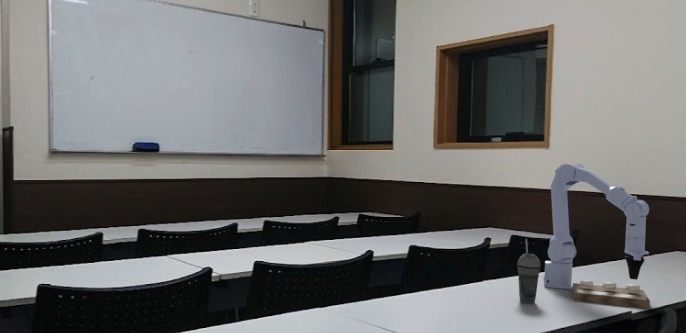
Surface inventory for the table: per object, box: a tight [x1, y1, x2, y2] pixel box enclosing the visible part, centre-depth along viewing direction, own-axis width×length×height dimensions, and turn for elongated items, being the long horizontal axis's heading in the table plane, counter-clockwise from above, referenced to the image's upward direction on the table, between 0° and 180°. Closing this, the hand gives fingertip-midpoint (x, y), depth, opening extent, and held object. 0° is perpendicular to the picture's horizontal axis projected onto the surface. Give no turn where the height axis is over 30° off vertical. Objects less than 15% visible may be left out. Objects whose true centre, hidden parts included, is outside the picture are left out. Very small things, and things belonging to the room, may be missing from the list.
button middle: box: [602, 281, 617, 289], centre depth 197 cm, size 4×4×2 cm
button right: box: [625, 283, 641, 292], centre depth 195 cm, size 4×4×2 cm
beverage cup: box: [516, 238, 542, 305], centre depth 189 cm, size 7×7×20 cm
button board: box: [572, 282, 651, 310], centre depth 197 cm, size 22×16×3 cm
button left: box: [579, 278, 594, 287], centre depth 200 cm, size 4×4×2 cm
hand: (633, 278), depth 195 cm, fingers closed
